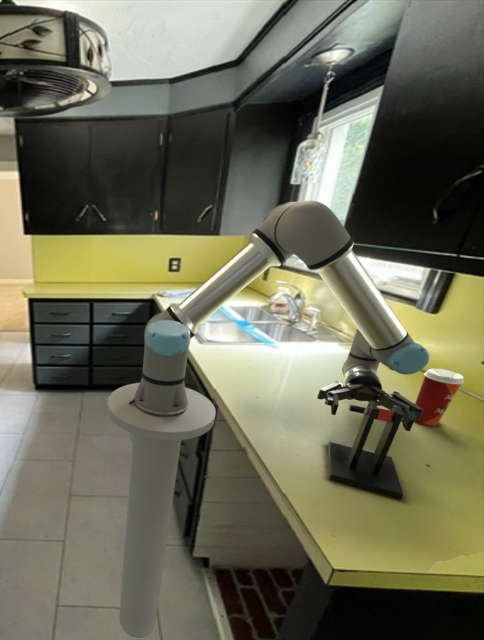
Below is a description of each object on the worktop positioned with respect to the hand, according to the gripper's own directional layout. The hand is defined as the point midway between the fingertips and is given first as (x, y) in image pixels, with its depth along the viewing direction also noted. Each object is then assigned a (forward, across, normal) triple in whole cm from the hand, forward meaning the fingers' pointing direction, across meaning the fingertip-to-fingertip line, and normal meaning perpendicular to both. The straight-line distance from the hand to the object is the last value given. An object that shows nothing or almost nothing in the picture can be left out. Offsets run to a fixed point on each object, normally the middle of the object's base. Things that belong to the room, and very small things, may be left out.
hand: (371, 417), depth 81 cm
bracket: (+7, 0, -10) cm, 12 cm away
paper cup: (-28, -17, -10) cm, 34 cm away
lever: (+4, 0, +1) cm, 4 cm away
